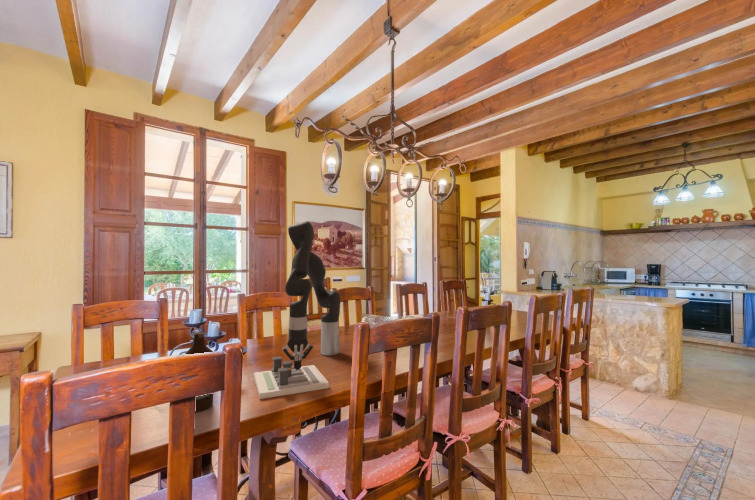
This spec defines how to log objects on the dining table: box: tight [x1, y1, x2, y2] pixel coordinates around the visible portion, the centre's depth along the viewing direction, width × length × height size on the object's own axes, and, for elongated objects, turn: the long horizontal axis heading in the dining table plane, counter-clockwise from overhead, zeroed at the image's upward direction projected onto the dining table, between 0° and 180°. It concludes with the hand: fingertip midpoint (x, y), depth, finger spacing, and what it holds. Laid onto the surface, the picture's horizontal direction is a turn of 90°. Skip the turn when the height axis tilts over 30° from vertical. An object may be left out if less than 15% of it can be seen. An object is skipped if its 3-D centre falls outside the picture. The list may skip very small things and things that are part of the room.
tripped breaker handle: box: [281, 360, 293, 377], centre depth 138 cm, size 4×4×6 cm
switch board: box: [253, 356, 330, 400], centre depth 139 cm, size 26×24×8 cm
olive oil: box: [184, 332, 214, 413], centre depth 116 cm, size 11×11×25 cm
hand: (297, 369), depth 140 cm, fingers closed
